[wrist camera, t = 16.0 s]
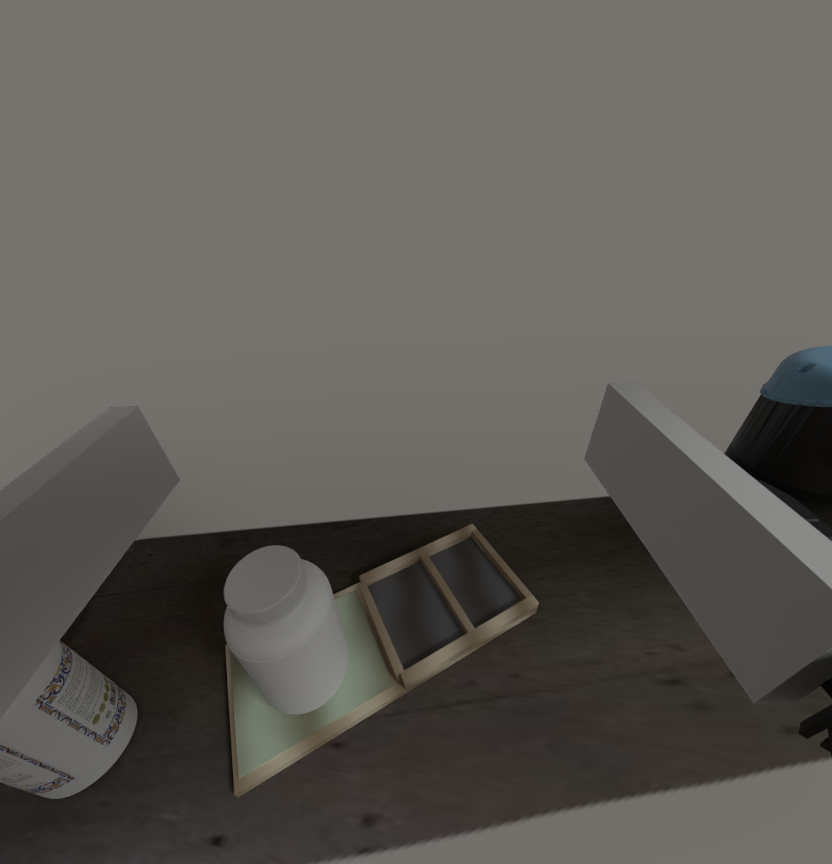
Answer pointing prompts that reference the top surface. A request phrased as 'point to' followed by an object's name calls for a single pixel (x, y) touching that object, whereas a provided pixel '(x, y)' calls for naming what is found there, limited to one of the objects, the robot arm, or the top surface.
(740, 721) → the top surface
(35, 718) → the bath foam
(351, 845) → the top surface
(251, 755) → the tray
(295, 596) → the pill bottle
